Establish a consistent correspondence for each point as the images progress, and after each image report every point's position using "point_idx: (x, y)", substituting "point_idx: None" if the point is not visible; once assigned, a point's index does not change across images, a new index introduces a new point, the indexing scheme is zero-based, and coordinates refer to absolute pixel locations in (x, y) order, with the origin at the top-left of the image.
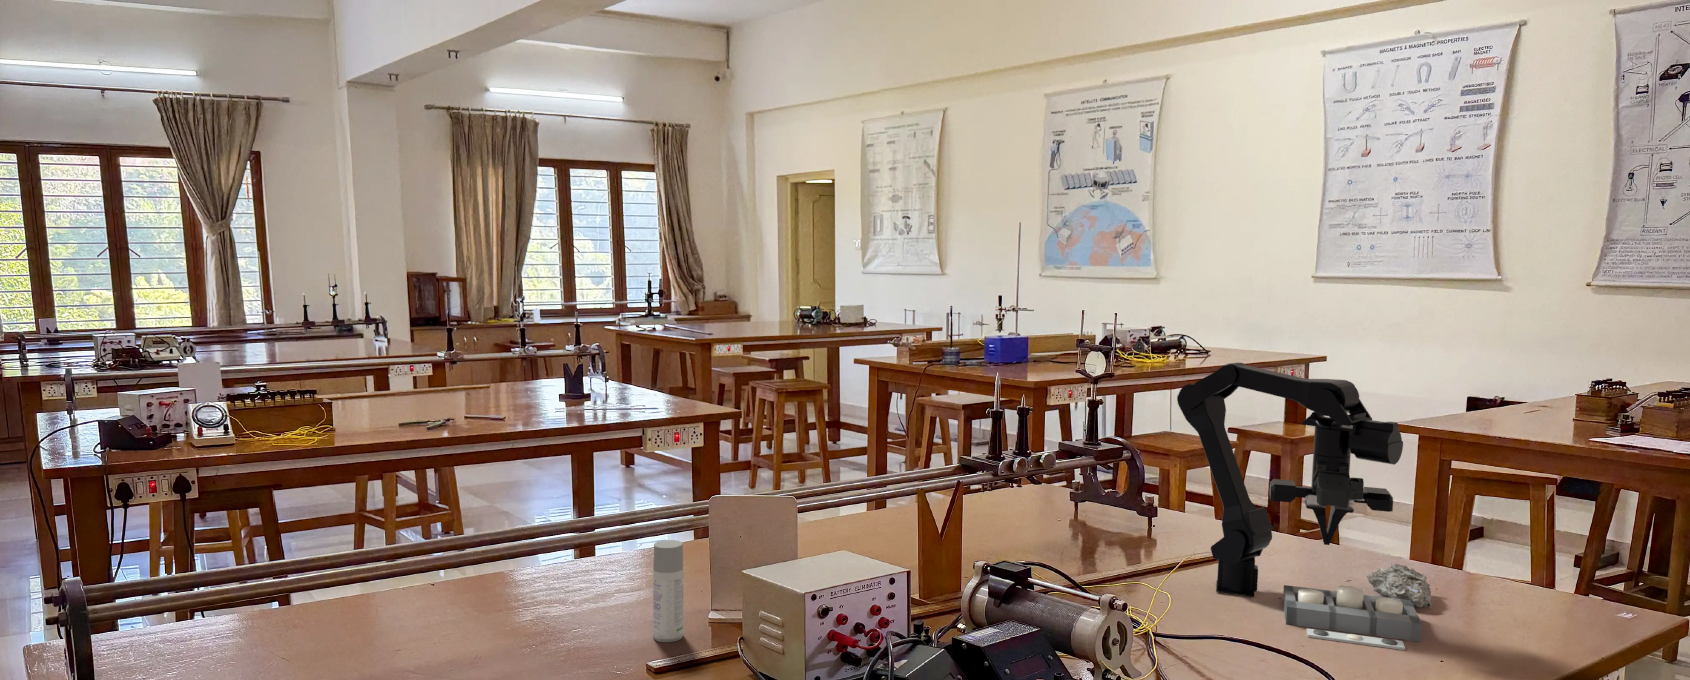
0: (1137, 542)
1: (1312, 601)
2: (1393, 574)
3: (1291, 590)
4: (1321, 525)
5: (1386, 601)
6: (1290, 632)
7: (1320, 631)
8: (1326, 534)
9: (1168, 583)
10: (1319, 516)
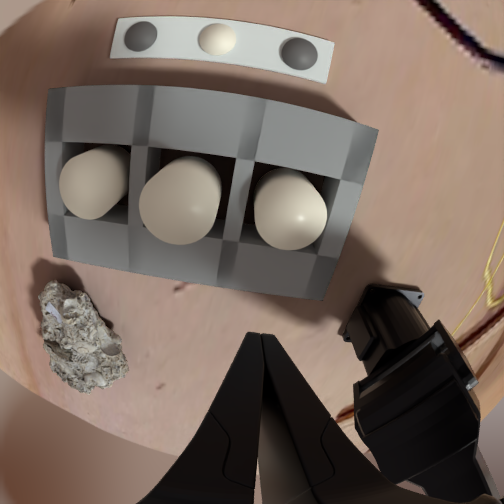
0: None
1: (295, 179)
2: (85, 366)
3: (318, 266)
4: (321, 422)
5: (91, 190)
6: (365, 71)
7: (299, 58)
8: (273, 374)
9: (462, 313)
10: (360, 480)
